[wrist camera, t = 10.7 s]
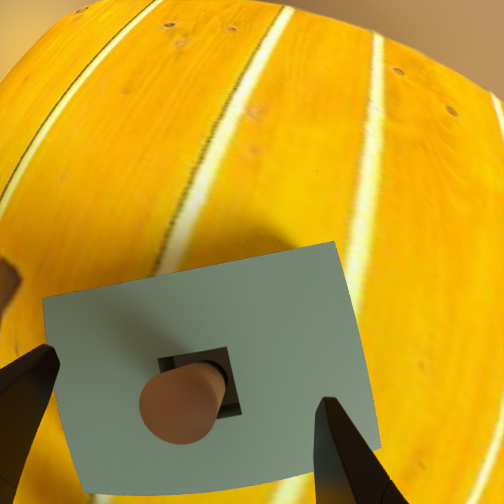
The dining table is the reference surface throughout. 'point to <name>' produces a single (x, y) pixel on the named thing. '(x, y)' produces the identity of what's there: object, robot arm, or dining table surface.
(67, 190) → the dining table surface
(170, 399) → the pin
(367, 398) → the board
